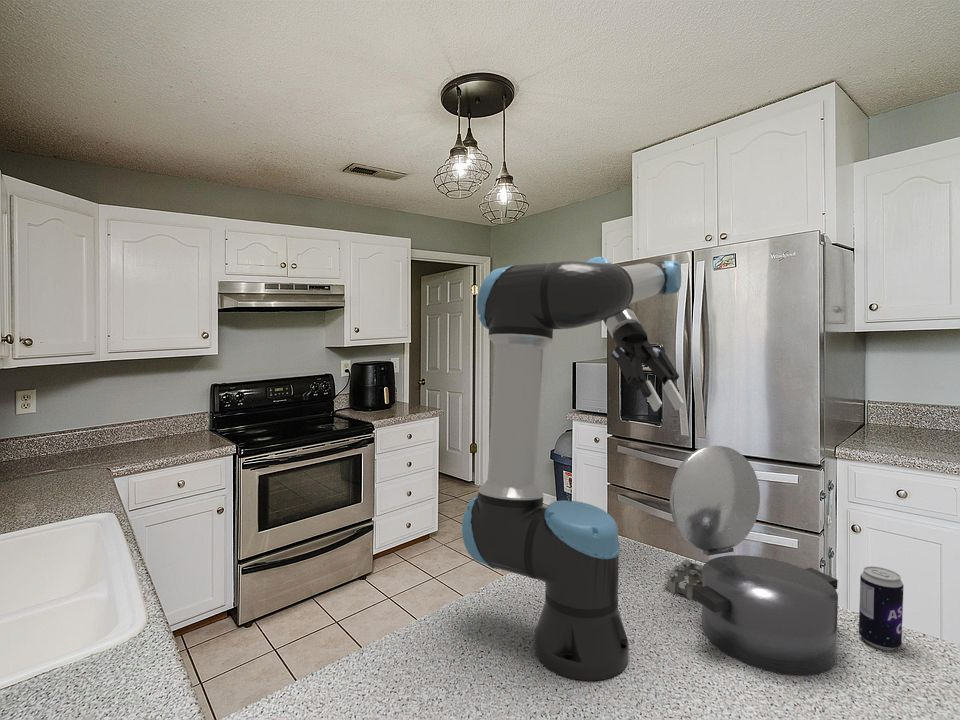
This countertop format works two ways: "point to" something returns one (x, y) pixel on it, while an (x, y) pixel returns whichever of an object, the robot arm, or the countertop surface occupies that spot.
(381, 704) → the countertop surface
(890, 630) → the beverage can
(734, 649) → the cooker pot
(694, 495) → the lid
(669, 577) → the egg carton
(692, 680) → the countertop surface
